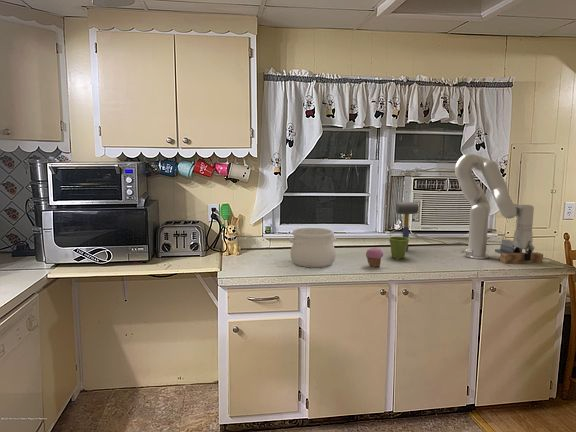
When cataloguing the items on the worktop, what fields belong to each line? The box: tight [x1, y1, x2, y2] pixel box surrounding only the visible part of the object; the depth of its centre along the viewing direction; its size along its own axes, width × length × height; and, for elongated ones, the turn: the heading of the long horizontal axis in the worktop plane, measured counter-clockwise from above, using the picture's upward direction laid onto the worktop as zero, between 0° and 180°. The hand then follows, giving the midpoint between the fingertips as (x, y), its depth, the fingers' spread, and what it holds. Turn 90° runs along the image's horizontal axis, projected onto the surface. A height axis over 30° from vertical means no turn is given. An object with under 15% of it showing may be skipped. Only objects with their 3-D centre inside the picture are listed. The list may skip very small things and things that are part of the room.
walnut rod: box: [499, 251, 544, 265], centre depth 232 cm, size 22×4×5 cm, turn 96°
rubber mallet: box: [395, 201, 419, 251], centre depth 258 cm, size 12×8×30 cm, turn 94°
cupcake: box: [365, 247, 384, 268], centre depth 222 cm, size 9×9×10 cm
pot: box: [289, 227, 337, 268], centre depth 228 cm, size 26×24×18 cm
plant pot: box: [388, 236, 411, 260], centre depth 241 cm, size 12×12×11 cm
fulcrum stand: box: [494, 239, 523, 255], centre depth 251 cm, size 11×14×8 cm
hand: (521, 258), depth 232 cm, fingers open, 8 cm apart
